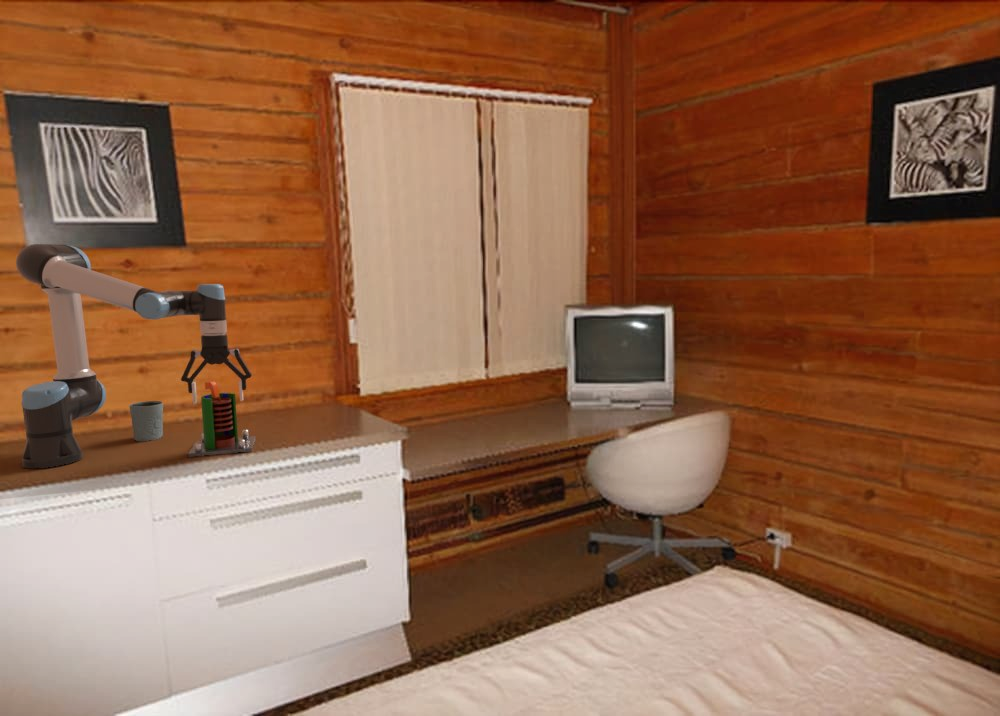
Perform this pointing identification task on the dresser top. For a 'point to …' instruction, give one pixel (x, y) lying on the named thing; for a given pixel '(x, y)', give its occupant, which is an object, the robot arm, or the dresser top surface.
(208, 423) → the motor
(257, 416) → the dresser top surface
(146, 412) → the grey embossed cup
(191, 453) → the mounting plate
